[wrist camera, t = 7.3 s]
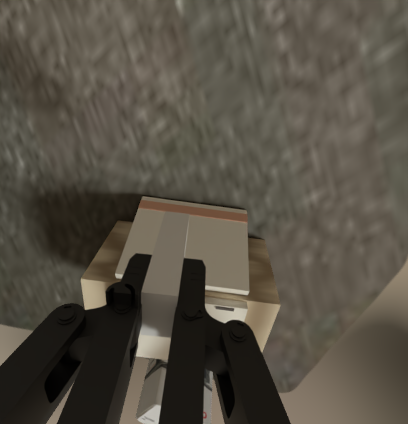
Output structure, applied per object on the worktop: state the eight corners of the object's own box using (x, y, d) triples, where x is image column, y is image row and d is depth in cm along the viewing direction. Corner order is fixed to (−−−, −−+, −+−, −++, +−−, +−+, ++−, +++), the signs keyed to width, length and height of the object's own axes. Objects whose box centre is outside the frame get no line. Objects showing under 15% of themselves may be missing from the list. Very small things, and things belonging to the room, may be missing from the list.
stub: (116, 278, 24) (114, 272, 24) (142, 201, 31) (142, 195, 30) (247, 295, 24) (249, 290, 24) (245, 215, 31) (247, 209, 31)
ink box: (215, 342, 43) (213, 430, 33) (197, 356, 45) (190, 443, 35) (170, 319, 41) (153, 405, 31) (153, 335, 43) (133, 421, 33)
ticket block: (120, 280, 38) (86, 355, 28) (117, 220, 33) (75, 286, 23) (247, 297, 38) (257, 377, 28) (264, 239, 33) (282, 313, 23)
